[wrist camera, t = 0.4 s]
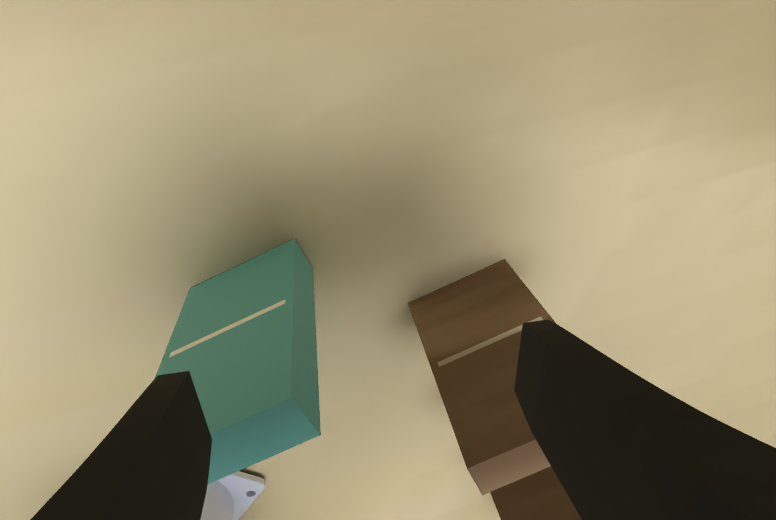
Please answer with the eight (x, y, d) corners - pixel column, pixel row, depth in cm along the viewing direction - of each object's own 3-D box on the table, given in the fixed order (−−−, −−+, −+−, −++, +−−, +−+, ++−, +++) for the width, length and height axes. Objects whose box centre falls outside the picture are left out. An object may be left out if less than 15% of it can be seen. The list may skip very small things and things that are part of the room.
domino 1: (313, 267, 20) (320, 435, 12) (212, 315, 20) (157, 507, 12) (294, 238, 19) (290, 397, 11) (189, 287, 19) (116, 475, 12)
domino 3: (538, 359, 25) (645, 518, 17) (455, 395, 25) (523, 567, 18) (531, 338, 24) (640, 496, 16) (445, 376, 24) (512, 549, 17)
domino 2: (513, 284, 22) (626, 434, 14) (420, 327, 23) (482, 495, 15) (504, 258, 21) (619, 402, 14) (407, 303, 22) (467, 468, 14)
